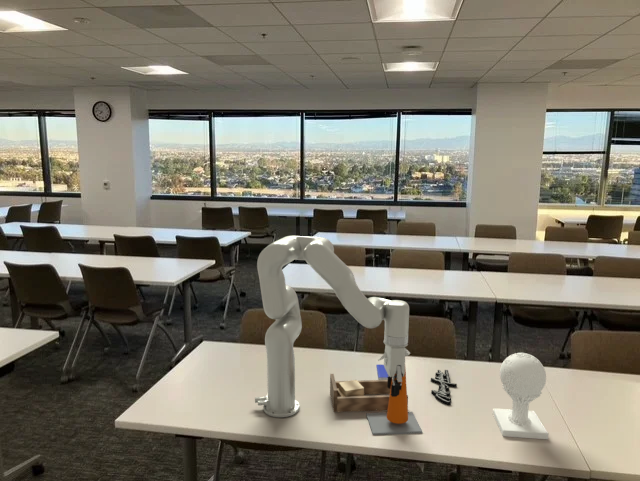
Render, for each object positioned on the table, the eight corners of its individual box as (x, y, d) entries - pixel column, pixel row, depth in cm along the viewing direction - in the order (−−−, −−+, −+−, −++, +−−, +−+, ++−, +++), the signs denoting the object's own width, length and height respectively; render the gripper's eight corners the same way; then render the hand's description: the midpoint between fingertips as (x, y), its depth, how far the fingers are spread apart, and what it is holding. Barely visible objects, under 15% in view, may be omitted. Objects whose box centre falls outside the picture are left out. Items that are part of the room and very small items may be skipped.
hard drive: (399, 377, 187) (395, 364, 199) (378, 377, 187) (376, 364, 200) (399, 381, 187) (395, 368, 200) (378, 380, 188) (376, 367, 200)
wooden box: (333, 412, 163) (333, 390, 162) (330, 393, 176) (330, 373, 174) (407, 409, 165) (408, 388, 164) (398, 391, 178) (399, 371, 176)
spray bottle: (379, 408, 161) (382, 334, 157) (410, 416, 157) (414, 340, 153) (372, 418, 155) (375, 341, 151) (405, 426, 150) (408, 347, 147)
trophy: (501, 436, 149) (508, 362, 145) (491, 413, 163) (496, 345, 159) (548, 440, 148) (556, 365, 143) (533, 416, 161) (540, 347, 157)
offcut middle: (342, 404, 165) (342, 398, 164) (336, 395, 172) (336, 388, 171) (364, 402, 167) (364, 395, 166) (357, 392, 174) (357, 386, 173)
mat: (372, 434, 149) (372, 433, 149) (366, 414, 161) (366, 413, 161) (422, 432, 151) (422, 431, 151) (412, 413, 162) (412, 411, 162)
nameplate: (461, 403, 167) (432, 400, 169) (461, 407, 167) (432, 404, 169) (453, 370, 194) (428, 368, 196) (453, 373, 194) (428, 371, 196)
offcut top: (345, 397, 165) (345, 391, 164) (338, 389, 171) (338, 382, 171) (363, 394, 167) (364, 388, 167) (356, 386, 173) (356, 379, 173)
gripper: (379, 330, 159) (377, 380, 162) (390, 349, 143) (388, 405, 146) (401, 329, 160) (399, 380, 163) (414, 349, 143) (412, 404, 146)
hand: (394, 391), depth 154 cm, fingers closed on spray bottle, 4 cm apart
